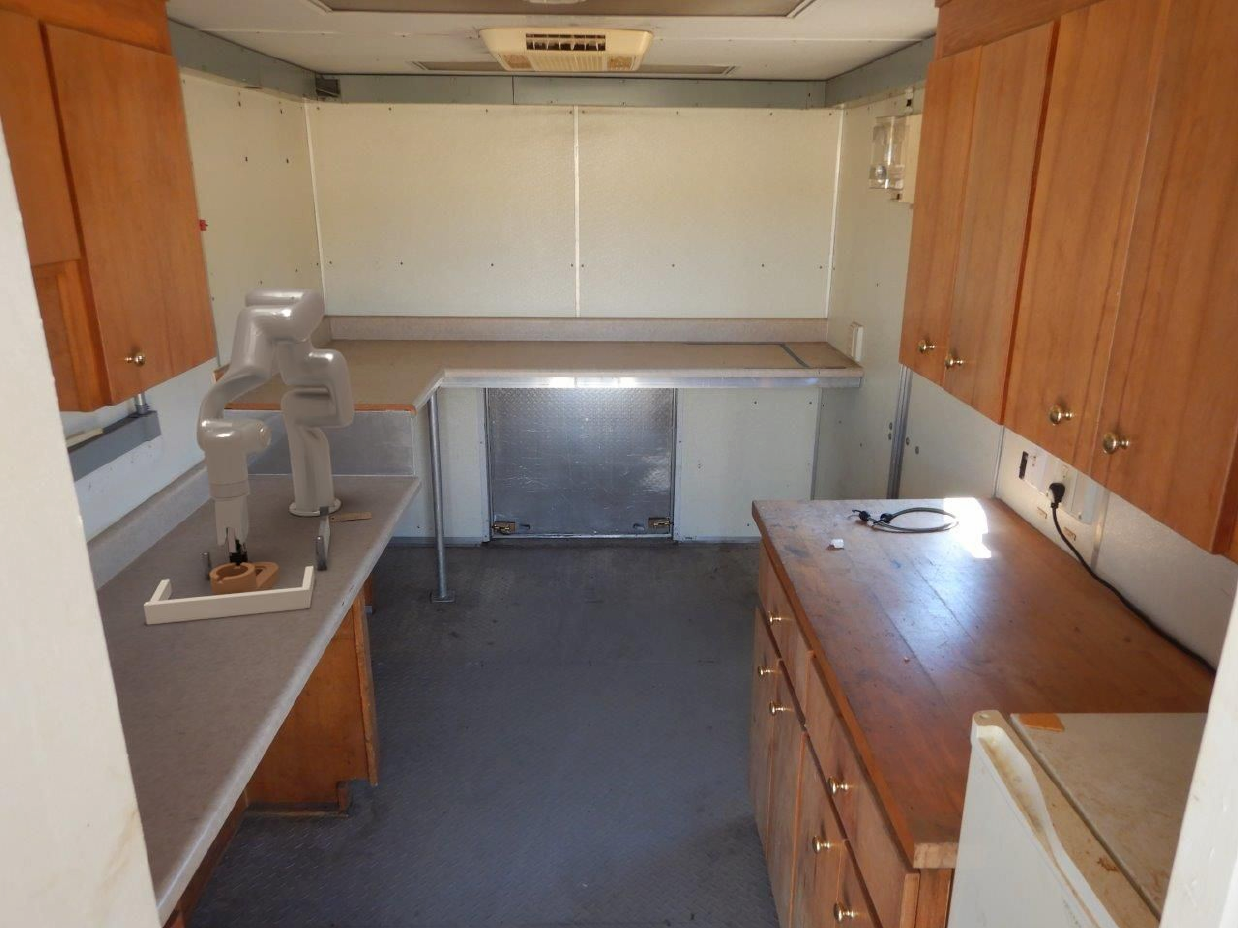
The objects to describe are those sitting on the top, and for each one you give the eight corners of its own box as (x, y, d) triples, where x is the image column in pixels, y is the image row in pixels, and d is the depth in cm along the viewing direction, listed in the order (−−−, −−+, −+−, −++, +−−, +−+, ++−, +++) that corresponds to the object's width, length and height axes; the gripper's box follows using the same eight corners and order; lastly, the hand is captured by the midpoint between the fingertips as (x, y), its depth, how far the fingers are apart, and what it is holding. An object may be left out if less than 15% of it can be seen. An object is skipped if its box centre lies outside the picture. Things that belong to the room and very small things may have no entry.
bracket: (246, 612, 172) (242, 580, 170) (206, 610, 173) (201, 578, 171) (286, 574, 189) (282, 544, 187) (248, 572, 190) (245, 543, 188)
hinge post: (317, 567, 192) (314, 535, 190) (327, 566, 193) (324, 535, 190) (317, 571, 190) (313, 539, 188) (326, 570, 191) (323, 538, 189)
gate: (327, 564, 194) (324, 532, 191) (318, 565, 193) (314, 533, 191) (331, 535, 210) (328, 505, 208) (323, 535, 210) (320, 506, 208)
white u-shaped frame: (163, 593, 180) (160, 575, 178) (314, 578, 187) (312, 561, 185) (147, 624, 167) (143, 605, 165) (309, 607, 174) (307, 589, 173)
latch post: (206, 577, 187) (202, 551, 185) (214, 576, 187) (210, 550, 186) (204, 580, 186) (200, 554, 184) (212, 579, 186) (209, 553, 184)
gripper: (216, 478, 185) (226, 558, 190) (203, 501, 171) (214, 587, 176) (254, 475, 186) (263, 555, 192) (244, 498, 173) (254, 583, 178)
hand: (240, 570), depth 184 cm, fingers closed
